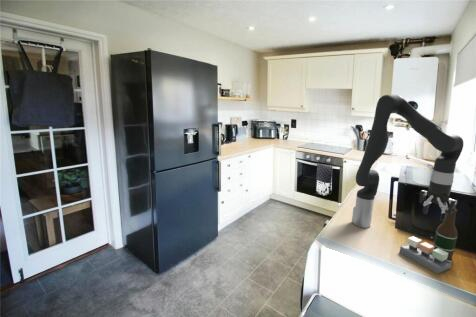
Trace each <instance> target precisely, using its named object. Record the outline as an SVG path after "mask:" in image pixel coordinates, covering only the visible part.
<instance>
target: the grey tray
mask: <svg viewBox="0 0 476 317" xmlns="http://www.w3.org/2000/svg"><path fill="white" fill-rule="evenodd" d="M419 247H420V246H419ZM419 247H417V248H415V247H413V246H411V245H409V244H407V245H400V246H399V253H401V254H402V255H404V256H406V257H408V258H409V259H412V260H413V261H415V262H416V263H418V264H420V265H421V266H423V267H425V268H426V269H430V270H431V271H433V272H435V273H436V274H440V273H443V272H445V271H446V270H449V269H451V268H452V267H451V265H452V260H450V259H446V260H444V261H440V260H438V259H436V258H434V257H432V253H430V254H426V253H425V252H423V251H421V250H419Z"/></svg>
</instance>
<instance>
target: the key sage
mask: <svg viewBox="0 0 476 317" xmlns="http://www.w3.org/2000/svg"><path fill="white" fill-rule="evenodd" d="M432 257H434V258H436V259H438V260H440V261H444V260H446V259H447V257H448V253H447V252H445V251H443V250H441V249H439V248H437V249H435V250H433V252H432ZM447 260H448V259H447Z"/></svg>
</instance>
